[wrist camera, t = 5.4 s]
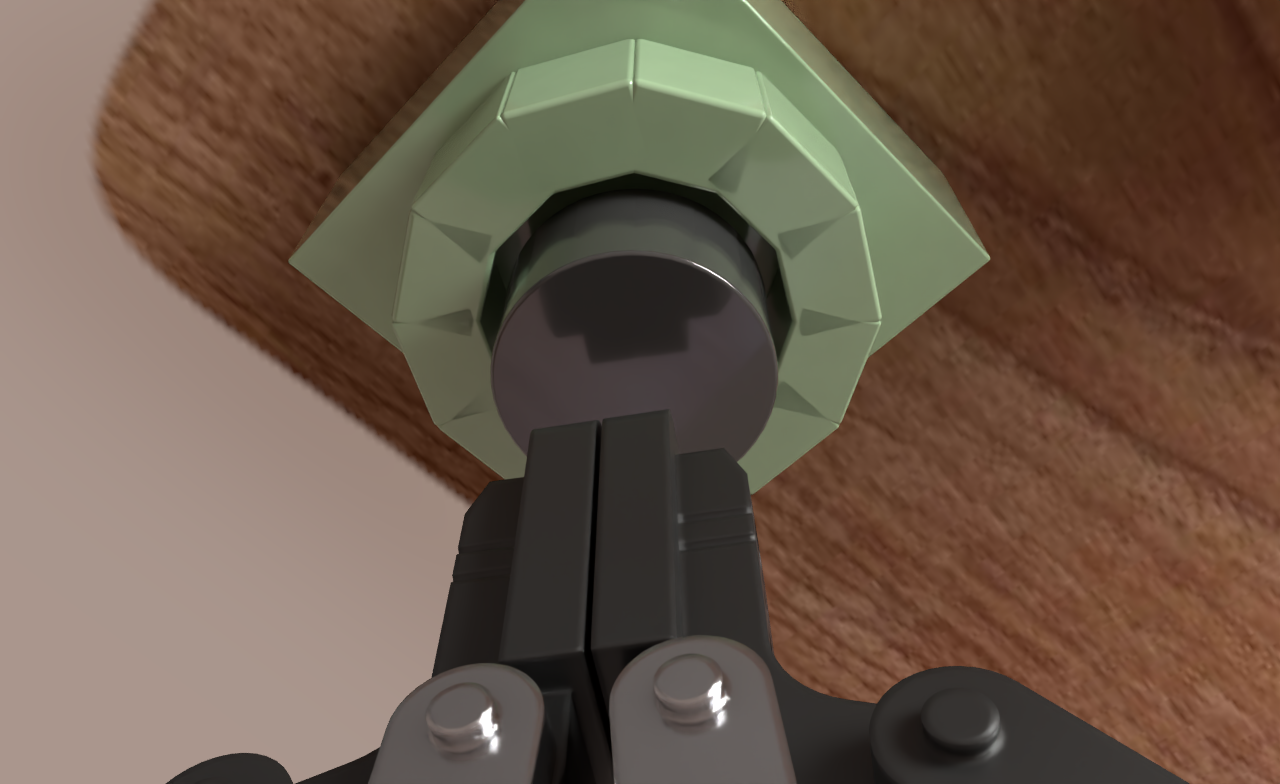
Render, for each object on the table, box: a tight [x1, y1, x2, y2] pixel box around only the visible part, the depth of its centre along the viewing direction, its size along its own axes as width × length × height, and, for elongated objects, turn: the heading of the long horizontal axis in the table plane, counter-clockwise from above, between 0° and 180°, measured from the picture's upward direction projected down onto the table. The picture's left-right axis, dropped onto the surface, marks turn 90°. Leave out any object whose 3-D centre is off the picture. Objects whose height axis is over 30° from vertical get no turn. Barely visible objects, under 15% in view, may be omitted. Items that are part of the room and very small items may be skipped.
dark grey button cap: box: [490, 188, 778, 462], centre depth 16 cm, size 4×4×2 cm
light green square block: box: [288, 0, 990, 495], centre depth 19 cm, size 8×8×6 cm
